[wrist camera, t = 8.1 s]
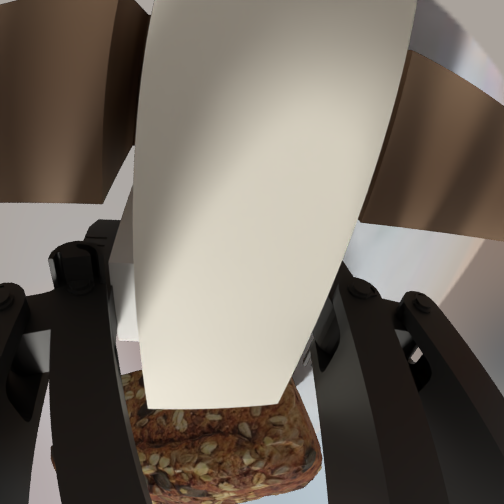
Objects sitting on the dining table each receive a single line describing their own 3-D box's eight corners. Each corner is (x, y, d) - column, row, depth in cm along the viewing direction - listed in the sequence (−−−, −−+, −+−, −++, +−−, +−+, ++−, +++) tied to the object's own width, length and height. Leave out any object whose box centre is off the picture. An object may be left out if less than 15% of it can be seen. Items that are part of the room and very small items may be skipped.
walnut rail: (-14, 43, 8) (-143, 73, 1) (436, 97, 13) (559, 153, 7) (-16, 126, 10) (-131, 207, 3) (415, 163, 15) (522, 244, 9)
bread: (274, 319, 20) (322, 464, 12) (301, 389, 27) (335, 488, 19) (53, 383, 21) (40, 495, 13) (124, 434, 27) (127, 522, 19)
